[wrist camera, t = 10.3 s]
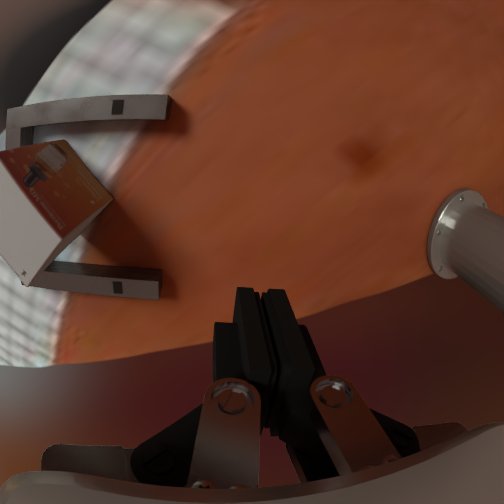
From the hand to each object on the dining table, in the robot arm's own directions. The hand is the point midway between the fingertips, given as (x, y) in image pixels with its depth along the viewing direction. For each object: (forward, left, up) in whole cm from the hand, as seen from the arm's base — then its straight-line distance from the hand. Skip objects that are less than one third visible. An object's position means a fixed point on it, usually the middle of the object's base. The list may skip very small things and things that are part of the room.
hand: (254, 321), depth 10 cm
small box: (+15, -1, -17) cm, 23 cm away
